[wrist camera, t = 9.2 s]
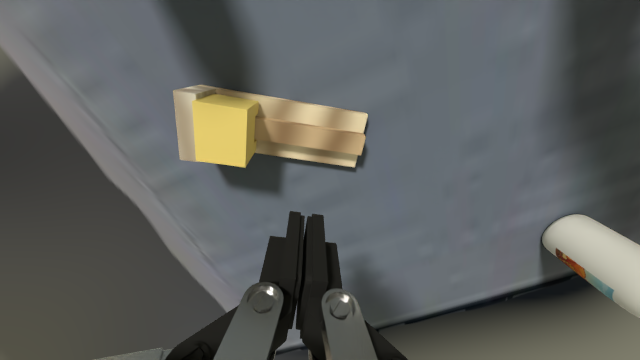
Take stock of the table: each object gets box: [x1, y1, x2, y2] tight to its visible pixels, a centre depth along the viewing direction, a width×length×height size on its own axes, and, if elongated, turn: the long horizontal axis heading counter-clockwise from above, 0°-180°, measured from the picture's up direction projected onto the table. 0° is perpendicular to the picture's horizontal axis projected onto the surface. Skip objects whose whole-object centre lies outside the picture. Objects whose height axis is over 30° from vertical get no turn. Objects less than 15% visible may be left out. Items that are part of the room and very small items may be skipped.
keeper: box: [192, 94, 259, 167], centre depth 26 cm, size 5×6×6 cm
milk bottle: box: [542, 214, 640, 318], centre depth 31 cm, size 8×8×20 cm
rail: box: [173, 85, 368, 167], centre depth 27 cm, size 20×7×6 cm, turn 80°
